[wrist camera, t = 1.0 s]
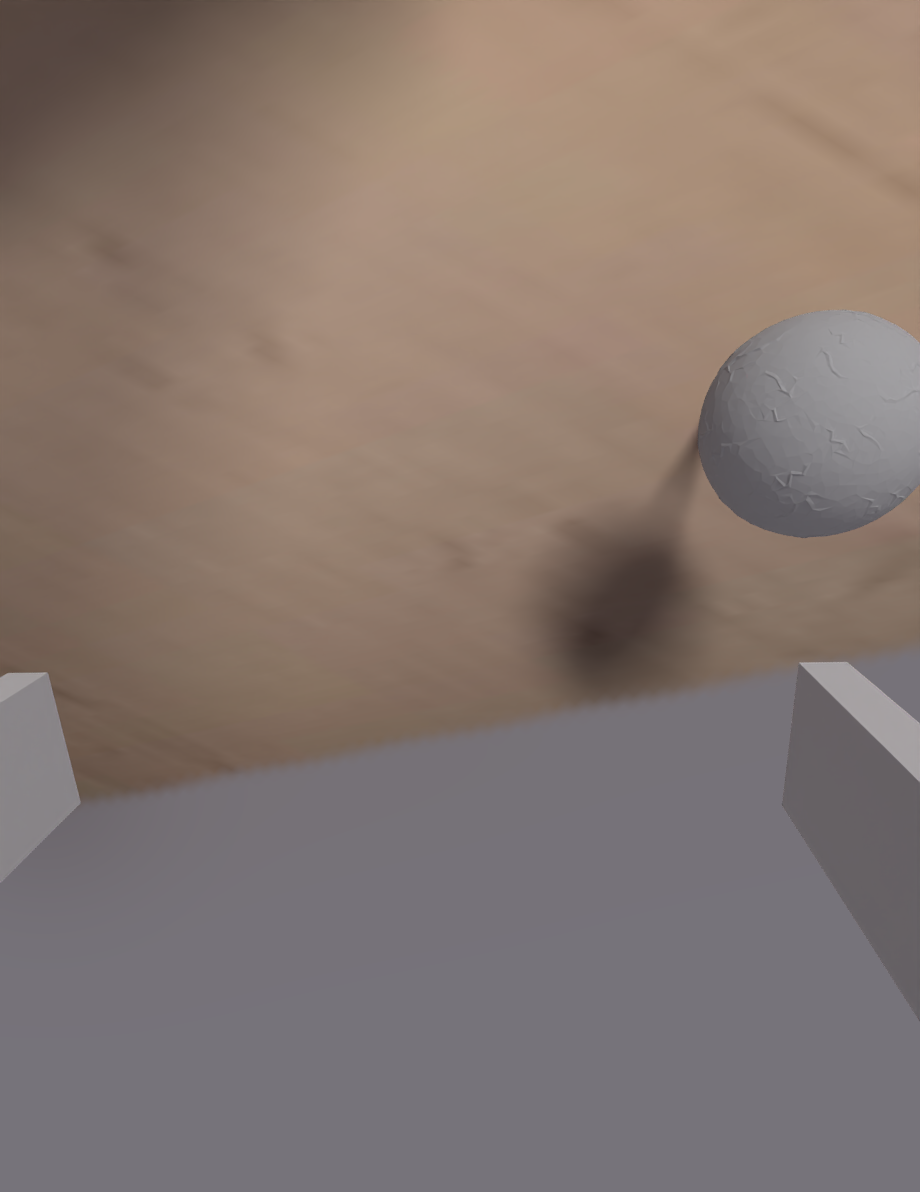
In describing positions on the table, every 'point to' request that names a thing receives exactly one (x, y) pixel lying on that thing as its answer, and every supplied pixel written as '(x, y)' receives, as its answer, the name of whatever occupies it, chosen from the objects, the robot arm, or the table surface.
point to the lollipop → (815, 424)
